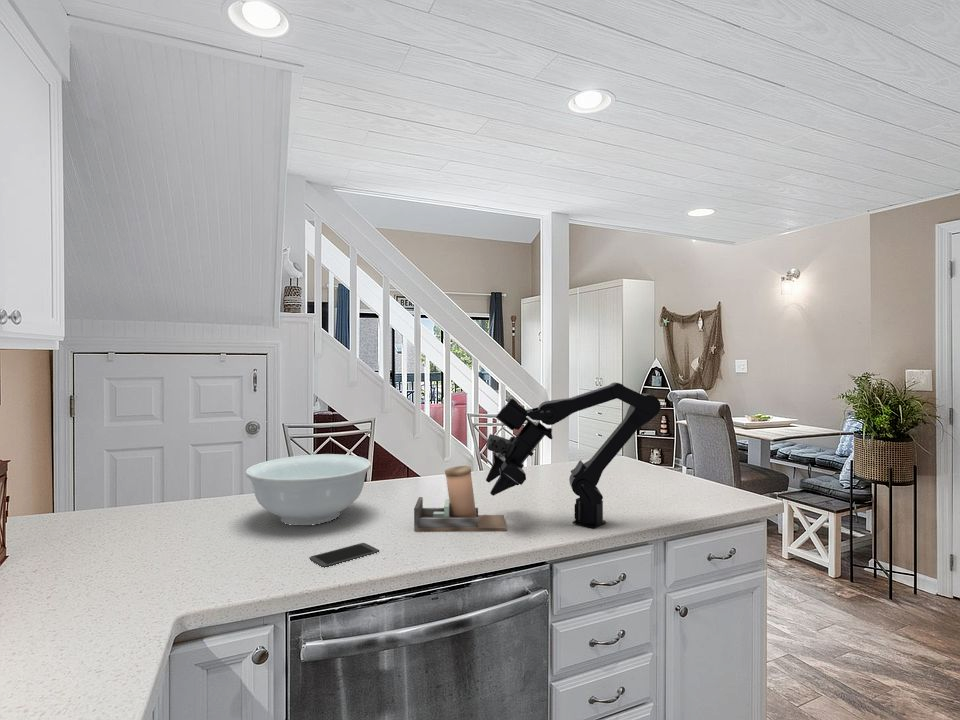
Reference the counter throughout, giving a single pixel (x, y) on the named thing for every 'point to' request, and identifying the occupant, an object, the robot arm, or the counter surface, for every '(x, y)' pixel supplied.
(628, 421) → the robot arm
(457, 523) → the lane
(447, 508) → the block
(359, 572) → the counter surface
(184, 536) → the counter surface
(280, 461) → the bowl
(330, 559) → the cell phone
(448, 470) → the jar
